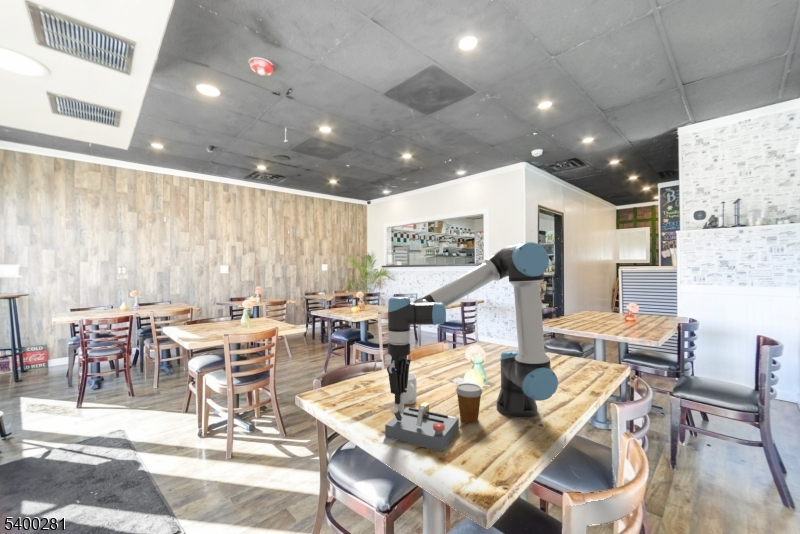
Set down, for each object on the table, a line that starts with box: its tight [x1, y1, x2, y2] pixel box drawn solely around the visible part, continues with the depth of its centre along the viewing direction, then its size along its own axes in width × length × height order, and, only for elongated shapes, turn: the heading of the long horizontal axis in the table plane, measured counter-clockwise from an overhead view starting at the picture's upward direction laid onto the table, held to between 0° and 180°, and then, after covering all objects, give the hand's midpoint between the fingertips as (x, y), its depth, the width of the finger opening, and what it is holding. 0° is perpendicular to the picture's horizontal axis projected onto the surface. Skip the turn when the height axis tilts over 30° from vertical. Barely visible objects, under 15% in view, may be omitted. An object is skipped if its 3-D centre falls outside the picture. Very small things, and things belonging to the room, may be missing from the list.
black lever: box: [391, 405, 402, 421], centre depth 111 cm, size 2×2×6 cm
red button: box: [433, 423, 445, 436], centre depth 104 cm, size 4×4×3 cm
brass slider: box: [421, 402, 430, 416], centre depth 117 cm, size 2×3×4 cm, turn 152°
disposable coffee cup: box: [455, 382, 483, 425], centre depth 122 cm, size 10×10×12 cm
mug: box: [404, 373, 417, 406], centre depth 139 cm, size 12×8×10 cm
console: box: [384, 406, 460, 453], centre depth 113 cm, size 20×16×5 cm
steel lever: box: [416, 404, 425, 427], centre depth 109 cm, size 2×2×6 cm
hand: (399, 412), depth 113 cm, fingers closed
